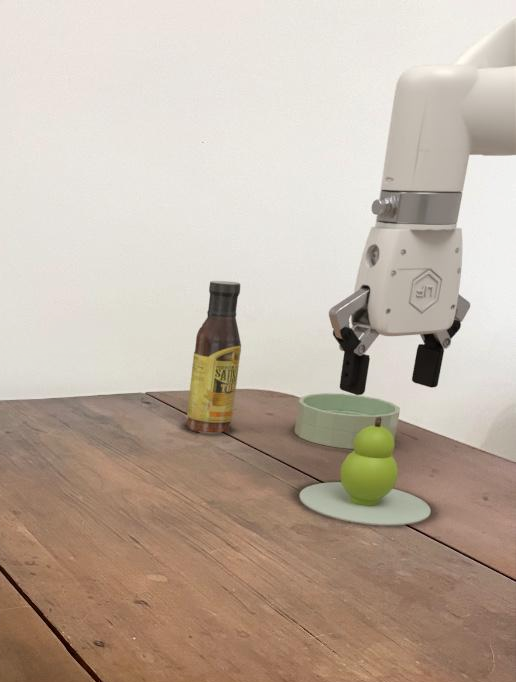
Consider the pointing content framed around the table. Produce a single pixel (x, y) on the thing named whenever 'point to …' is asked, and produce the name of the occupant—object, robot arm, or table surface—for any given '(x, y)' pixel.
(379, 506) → the mat
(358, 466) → the pear
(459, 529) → the table surface
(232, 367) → the sauce bottle
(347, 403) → the bowl
